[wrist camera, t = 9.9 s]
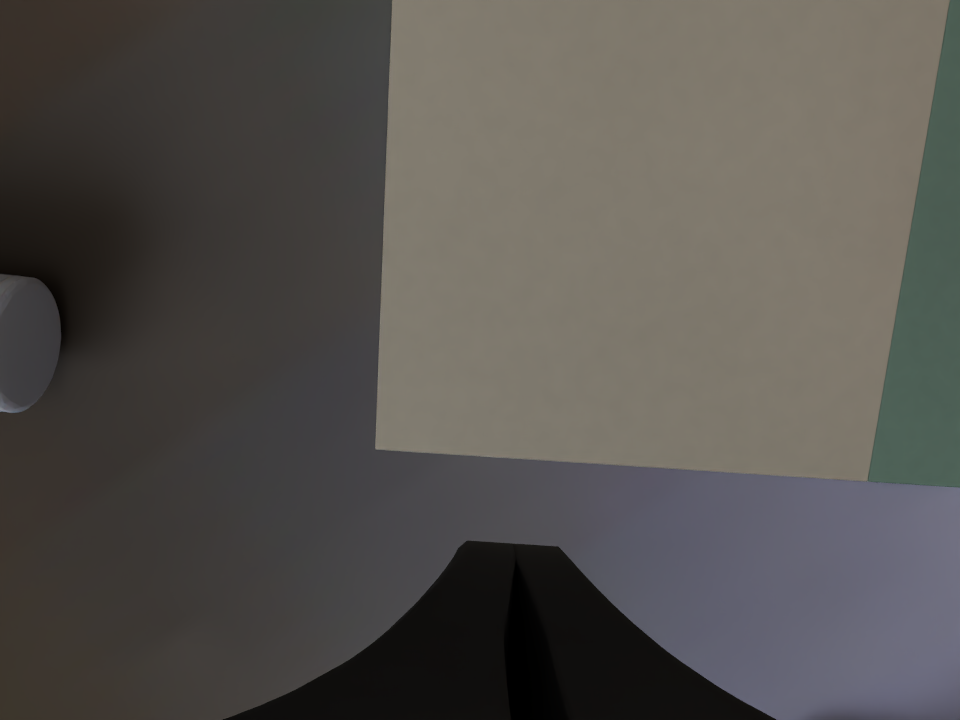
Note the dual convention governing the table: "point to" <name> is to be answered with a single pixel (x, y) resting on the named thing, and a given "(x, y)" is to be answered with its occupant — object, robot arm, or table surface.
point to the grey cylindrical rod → (26, 341)
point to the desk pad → (675, 235)
